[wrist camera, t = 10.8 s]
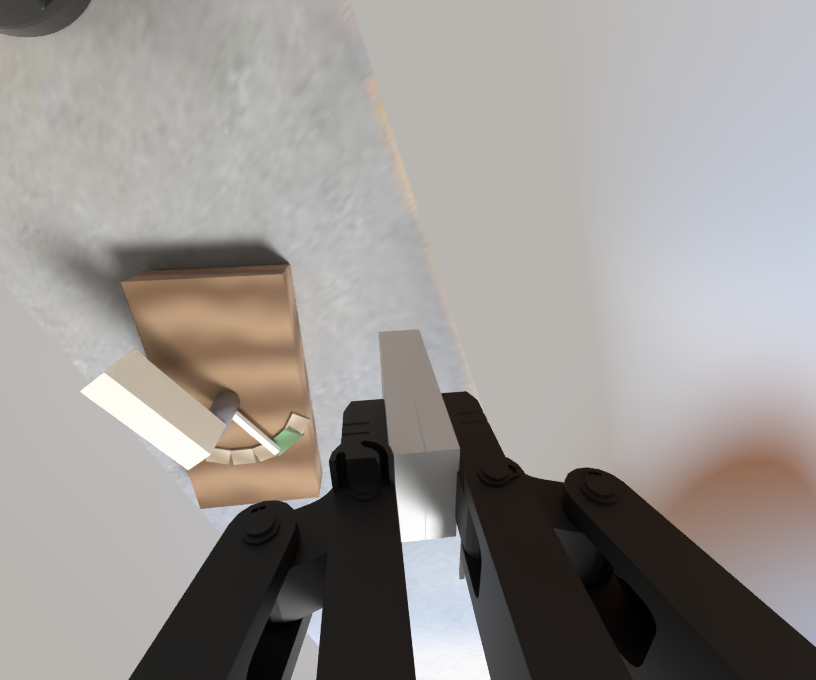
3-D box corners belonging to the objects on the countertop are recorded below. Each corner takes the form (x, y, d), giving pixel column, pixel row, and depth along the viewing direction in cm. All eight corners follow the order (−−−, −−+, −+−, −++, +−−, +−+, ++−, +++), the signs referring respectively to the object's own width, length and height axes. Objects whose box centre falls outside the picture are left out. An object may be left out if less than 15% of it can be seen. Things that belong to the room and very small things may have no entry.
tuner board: (144, 270, 37) (118, 283, 33) (294, 263, 38) (286, 274, 34) (212, 483, 49) (199, 510, 45) (325, 472, 50) (322, 498, 46)
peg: (141, 342, 36) (80, 391, 28) (161, 327, 35) (104, 372, 27) (270, 451, 42) (250, 515, 35) (288, 439, 42) (271, 501, 34)
